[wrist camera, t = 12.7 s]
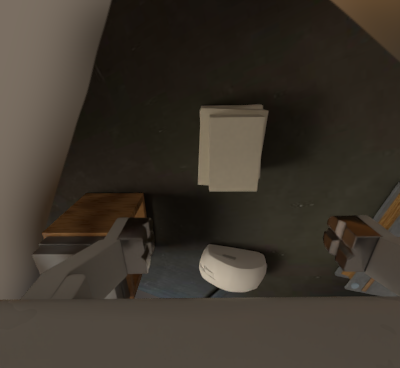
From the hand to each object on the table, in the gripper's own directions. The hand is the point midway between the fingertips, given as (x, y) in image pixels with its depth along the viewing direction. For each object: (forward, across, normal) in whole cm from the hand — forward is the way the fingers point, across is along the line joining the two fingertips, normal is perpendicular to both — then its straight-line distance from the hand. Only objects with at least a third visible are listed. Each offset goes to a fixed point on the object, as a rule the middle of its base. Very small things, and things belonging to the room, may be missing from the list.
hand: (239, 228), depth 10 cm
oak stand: (+24, +17, +16) cm, 34 cm away
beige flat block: (+18, -2, +2) cm, 18 cm away
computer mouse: (+24, -4, +25) cm, 35 cm away
